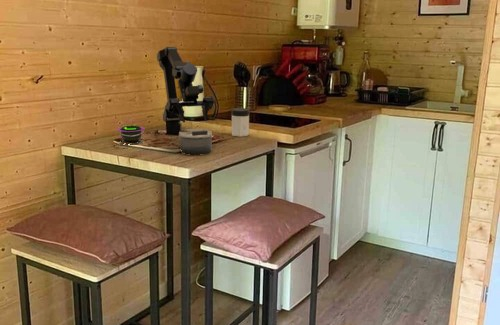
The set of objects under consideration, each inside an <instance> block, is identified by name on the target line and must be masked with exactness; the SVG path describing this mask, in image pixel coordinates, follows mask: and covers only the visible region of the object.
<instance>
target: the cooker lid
mask: <svg viewBox="0 0 500 325" xmlns="http://www.w3.org/2000/svg"><path fill="white" fill-rule="evenodd" d="M212 135H213V132H212V130H210V129H205V128H187V129H186V128H185V129H182V130H181V131H179V135H178V136H180V137H183V138H190V139H200V138H207V137H210V136H212Z"/></svg>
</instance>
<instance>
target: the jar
mask: <svg viewBox="0 0 500 325" xmlns="http://www.w3.org/2000/svg"><path fill="white" fill-rule="evenodd" d="M231 136H233V137H238V138H239V137H240V138H241V137H248V136H250V109H249V108H247V107H246V108H245V107H236V108H231Z"/></svg>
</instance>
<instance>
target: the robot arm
mask: <svg viewBox="0 0 500 325" xmlns="http://www.w3.org/2000/svg"><path fill="white" fill-rule="evenodd" d="M156 60H157V62H158V66H159V67H160V68H161V69H162V70H163V77H164V84H165V90H166V91H165V92H166V99H167V101H166V103H165V106H164V111H163V113H162V120H163V121H164V123H165V133H164V135H165V136H167V135H169V136H179V131H181V130H183V128H182V127H183V126H182V124H183V123H185V122H186V119H185V110H184V107H188V108H190V107H201V109H202V110H201V113H202V115H203V118H204V120H205V122H207V121H208V112H209V111H210V110H212V109H213V107H214V104H215V99H214V97H213V96H204V97H203V98H202V100H198V99H199V95H200V94H203V93H204V86H203V84H198V85H194V84H193V83H194V82H195V78H196V76H197V74H198V68H197V67H196V65H194V64H192V63H191V61H183V60H182V58H181V56H180V54H179V52H178V48H177V46H165V47H164V48H163V49H160V50H158V52H157V54H156ZM176 80H178V81H177V84H178V85H177V86H178V89H179V93H180V98H178V94H177V86H176ZM180 99H181V100H180ZM181 122H183V123H181Z"/></svg>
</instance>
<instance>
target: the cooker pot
mask: <svg viewBox="0 0 500 325" xmlns="http://www.w3.org/2000/svg"><path fill="white" fill-rule="evenodd" d="M178 136H179V135H178ZM212 139H213V138H212V136H210V137H207V138H200V139H190V138H183V137H180V136H179V150H180V149H181V150H182V152H183V153H185V154H184V155H186V154H190V155H189V156H201V155H200V154H204V155H208V154H210V153H212V152H213V150H212V148H213V147H212V146H213V145H212V144H213V142H212Z"/></svg>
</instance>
